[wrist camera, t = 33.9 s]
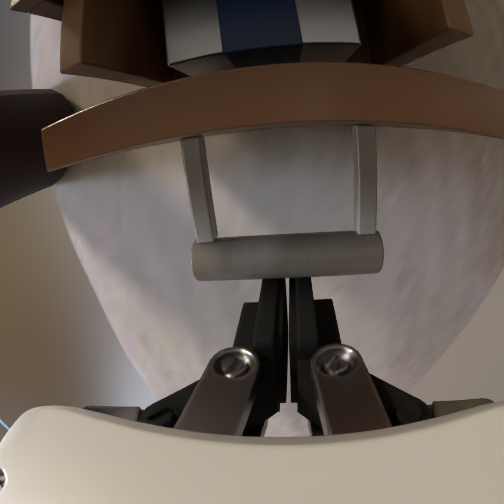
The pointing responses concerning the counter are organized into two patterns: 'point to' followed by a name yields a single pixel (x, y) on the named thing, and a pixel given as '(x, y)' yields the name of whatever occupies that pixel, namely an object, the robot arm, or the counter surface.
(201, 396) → the robot arm
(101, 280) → the counter surface
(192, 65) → the striped block
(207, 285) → the counter surface
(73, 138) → the drawer
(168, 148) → the counter surface
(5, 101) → the bottle
